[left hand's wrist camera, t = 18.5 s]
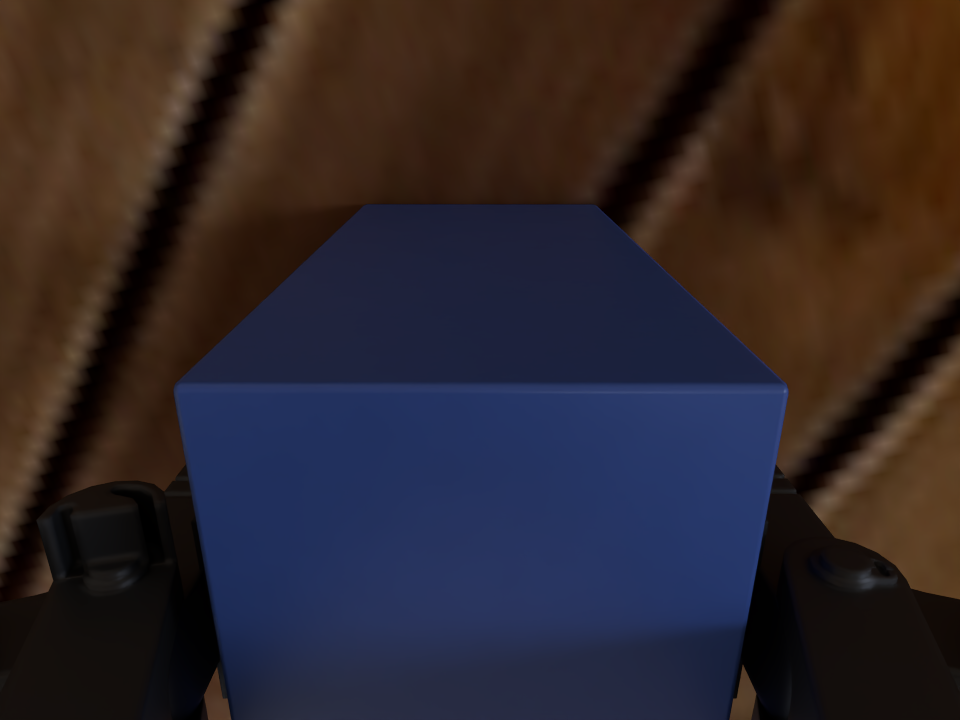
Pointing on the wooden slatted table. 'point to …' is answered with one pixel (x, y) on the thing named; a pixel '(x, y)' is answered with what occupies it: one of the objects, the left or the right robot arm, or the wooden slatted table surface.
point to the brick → (480, 477)
